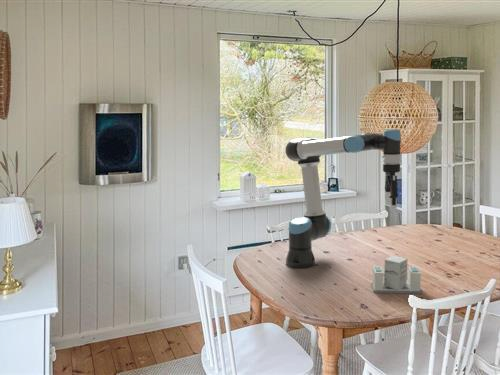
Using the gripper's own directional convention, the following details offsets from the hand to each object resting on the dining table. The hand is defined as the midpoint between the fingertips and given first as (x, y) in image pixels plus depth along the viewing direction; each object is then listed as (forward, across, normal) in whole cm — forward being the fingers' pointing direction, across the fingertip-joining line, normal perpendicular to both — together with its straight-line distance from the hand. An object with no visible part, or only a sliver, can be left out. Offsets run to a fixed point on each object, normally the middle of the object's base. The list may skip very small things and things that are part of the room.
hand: (390, 208), depth 218 cm
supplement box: (+32, +17, 0) cm, 36 cm away
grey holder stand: (+33, +17, 0) cm, 37 cm away
